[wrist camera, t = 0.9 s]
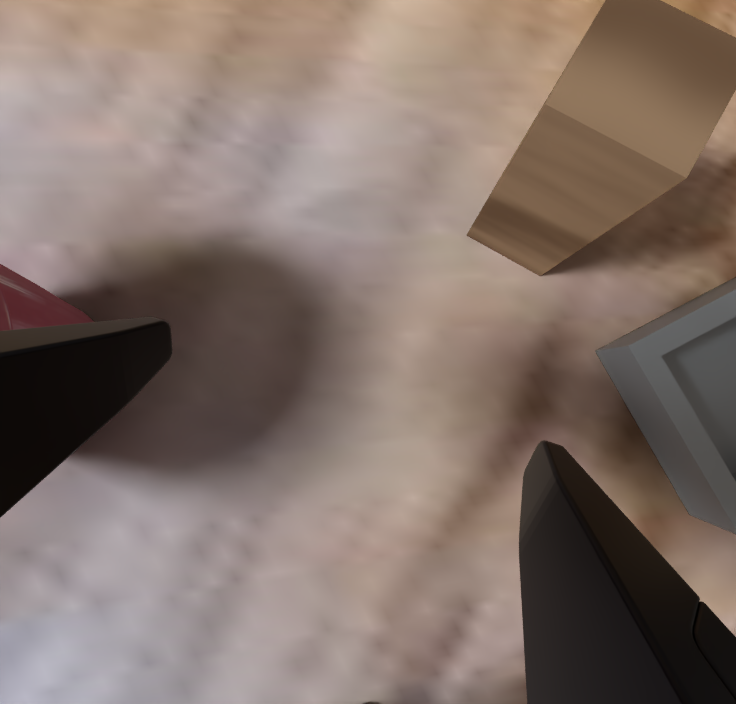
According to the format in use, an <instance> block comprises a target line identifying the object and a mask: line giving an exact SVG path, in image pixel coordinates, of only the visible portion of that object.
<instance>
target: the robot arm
mask: <svg viewBox="0 0 736 704" xmlns="http://www.w3.org/2000/svg"><path fill="white" fill-rule="evenodd" d="M171 354H172V341H171V328H170V325H169V323H168V322H167V321H165V320H162V319H158V318H155V317H142V318H132V319H121V320H110V321H100V322H89V323H79V324H68V325H58V326H47V327H37V328H26V329H16V330H5V331H0V517H2V516H3V515H4V514H5V513H6V512H7V511H8V510H9V509H11V508H12V507H13V506H14V505H15V504H16V503H17V502H18V501H20V500H21V499H22V498H23V497H24V496H25V495H26V494H27V493H29V492H30V491H31V490H32V489H33V488H34V487H35V486H36V485H38V484H39V483H40V482H41V481H42V480H43V479H44V478H45V477H46V476H48V475H49V474H50V473H51V472H52V471H53V470H54V469H55V468H57V467H58V466H59V465H60V464H61V463H62V462H63V461H64V460H66V459H67V458H68V457H69V456H70V455H71V454H72V453H73V452H75V451H76V450H77V449H78V448H79V447H80V446H81V445H82V444H84V443H85V442H86V441H87V440H88V439H89V438H90V437H91V436H93V435H94V434H95V433H96V432H97V431H98V430H99V429H100V428H102V427H103V426H104V425H105V424H106V423H107V422H108V421H109V420H111V419H112V418H113V417H114V416H115V415H116V414H117V413H118V412H120V411H121V410H122V409H123V408H124V407H125V406H126V405H127V404H128V403H129V402H130V401H131V400H132V399H133V398H134V397H135V396H136V395H137V394H138V393H139V392H140V391H141V390H142V388H143V387H144V386H145V385H146V384H147V383H148V382H149V381H150V380H151V379H152V378H153V377H154V376H155V374H156V373H157V372H158V371H159V370H160V369H161V368H162V367H163V366H164V365H165V364H166V363H167V361H168V360H169V359H170V357H171ZM519 563H520V581H521V599H522V617H523V635H524V653H525V671H526V689H527V704H736V637H735V636H734V635H733V634H732V633H731V631H730V630H729V629H728V628H727V627H726V626H725V625H724V624H723V623H722V622H721V621H720V619H719V618H718V617H717V616H716V615H715V614H714V613H713V612H712V611H711V609H710V608H709V607H708V606H707V605H706V604H705V603H704V602H699V601H700V598H699V596H698V595H697V594H696V593H695V592H694V591H693V590H692V589H691V587H690V586H689V585H688V584H687V583H686V582H685V581H684V580H683V579H682V578H681V576H680V575H679V574H678V573H677V572H676V571H675V570H674V569H673V568H672V566H671V565H670V564H669V563H668V562H667V561H666V560H665V559H664V558H663V557H662V555H661V554H660V553H659V552H658V551H657V550H656V549H655V548H654V547H653V545H652V544H651V543H650V542H649V541H648V540H647V539H646V538H645V537H644V536H643V534H642V533H641V532H640V531H639V530H638V529H637V528H636V527H635V526H634V524H633V523H632V522H631V521H630V520H629V519H628V518H627V517H626V516H625V515H624V513H623V512H622V511H621V510H620V509H619V508H618V507H617V506H616V505H615V504H614V502H613V501H612V500H611V499H610V498H609V497H608V496H607V495H606V494H605V492H604V491H603V490H602V489H601V488H600V487H599V486H598V485H597V484H596V483H595V481H594V480H593V479H592V478H591V477H590V476H589V475H588V474H587V473H586V471H585V470H584V469H583V468H582V467H581V466H580V465H579V464H578V463H577V462H576V460H575V459H574V458H573V457H572V456H571V455H570V454H569V453H568V452H567V450H566V449H565V448H564V447H563V446H561V445H558V444H555V443H552V442H548V441H545V440H543V441H541V442H540V443H539V444H538V445H537V447H536V449H535V451H534V453H533V455H532V457H531V459H530V461H529V463H528V465H527V467H526V469H525V472H524V476H523V487H522V502H521V516H520V531H519Z"/></svg>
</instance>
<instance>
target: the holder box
mask: <svg viewBox="0 0 736 704" xmlns="http://www.w3.org/2000/svg"><path fill="white" fill-rule="evenodd" d="M595 352H596V353H597V355H598V357H599V359H600V360H601V362H602V364H603V366H604V367H605V369H606V371H607V373H608V374H609V376H610V378H611V379H612V381H613V383H614V385H615V386H616V388H617V390H618V392H619V393H620V395H621V397H622V399H623V400H624V402H625V404H626V405H627V407H628V409H629V411H630V412H631V414H632V416H633V418H634V419H635V421H636V423H637V425H638V426H639V428H640V430H641V431H642V433H643V435H644V437H645V438H646V440H647V442H648V444H649V445H650V447H651V449H652V451H653V452H654V454H655V456H656V457H657V459H658V461H659V463H660V464H661V466H662V468H663V470H664V471H665V473H666V475H667V477H668V478H669V480H670V482H671V483H672V485H673V487H674V489H675V490H676V492H677V494H678V496H679V497H680V499H681V501H682V503H683V504H684V506H685V508H686V509H687V511H688V513H689V515H691V516H693V517H696V518H698V519H701V520H703V521H705V522H708V523H710V524H713V525H715V526H717V527H720V528H722V529H725V530H727V531H729V532H732V533H734V534H736V277H735V278H733V279H731V280H729V281H727V282H725V283H724V284H722V285H720V286H718V287H716V288H714V289H712V290H710V291H708V292H706V293H704V294H703V295H701V296H699V297H697V298H695V299H693V300H691V301H689V302H687V303H685V304H684V305H682V306H680V307H678V308H676V309H674V310H672V311H670V312H668V313H666V314H664V315H663V316H661V317H659V318H657V319H655V320H653V321H651V322H649V323H647V324H645V325H644V326H642V327H640V328H638V329H636V330H634V331H632V332H630V333H628V334H626V335H624V336H623V337H621V338H619V339H617V340H615V341H613V342H611V343H609V344H607V345H605V346H604V347H602V348H600V349H598V350H596V351H595Z"/></svg>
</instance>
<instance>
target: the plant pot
mask: <svg viewBox="0 0 736 704" xmlns="http://www.w3.org/2000/svg"><path fill="white" fill-rule="evenodd" d="M89 322H94V321H93V320H92V319H91V318H90V317H88V316H87V315H86V314H85V313H83V312H82V311H81V310H79V309H77V308H76V307H74V306H72V305H70V304H68V303H67V302H65V301H63V300H62V299H60V298H58V297H56V296H55V295H53V294H51V293H50V292H48V291H47V290H45V289H43V288H42V287H40V286H38V285H37V284H35V283H33V282H31V281H29V280H28V279H26V278H24V277H22V276H21V275H19V274H17V273H15V272H14V271H12V270H10V269H8V268H7V267H5V266H3V265H1V264H0V331H5V330H16V329H26V328H37V327H47V326H58V325H68V324H79V323H89Z"/></svg>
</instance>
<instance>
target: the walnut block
mask: <svg viewBox="0 0 736 704" xmlns="http://www.w3.org/2000/svg"><path fill="white" fill-rule="evenodd" d="M735 90H736V38H735V37H733V36H731V35H729V34H727V33H725V32H723V31H721V30H719V29H717V28H715V27H713V26H711V25H709V24H707V23H705V22H703V21H701V20H699V19H697V18H695V17H693V16H691V15H689V14H687V13H685V12H683V11H681V10H679V9H677V8H675V7H673V6H671V5H669V4H667V3H665V2H662V1H660V0H606V1H605V2H604V4H603V6H602V7H601V9H600V11H599V12H598V14H597V16H596V17H595V19H594V21H593V22H592V24H591V26H590V27H589V29H588V31H587V33H586V34H585V36H584V38H583V39H582V41H581V43H580V44H579V46H578V48H577V49H576V51H575V53H574V54H573V56H572V58H571V59H570V61H569V63H568V64H567V66H566V68H565V70H564V71H563V73H562V75H561V76H560V78H559V80H558V81H557V83H556V85H555V86H554V88H553V90H552V91H551V93H550V95H549V96H548V98H547V100H546V101H545V103H544V105H543V107H542V108H541V110H540V112H539V113H538V115H537V117H536V118H535V120H534V122H533V123H532V125H531V127H530V128H529V130H528V132H527V133H526V135H525V137H524V138H523V140H522V142H521V144H520V145H519V147H518V149H517V150H516V152H515V154H514V155H513V157H512V159H511V160H510V162H509V164H508V165H507V167H506V169H505V170H504V172H503V174H502V176H501V177H500V179H499V181H498V182H497V184H496V186H495V188H494V189H493V191H492V193H491V194H490V196H489V198H488V199H487V201H486V203H485V205H484V206H483V208H482V210H481V211H480V213H479V215H478V216H477V218H476V220H475V222H474V223H473V225H472V227H471V228H470V230H469V232H468V234H467V236H469V237H470V238H472V239H474V240H476V241H478V242H480V243H481V244H483V245H485V246H487V247H489V248H490V249H492V250H494V251H496V252H498V253H499V254H501V255H503V256H505V257H507V258H508V259H510V260H512V261H514V262H516V263H517V264H519V265H521V266H523V267H525V268H526V269H528V270H530V271H532V272H534V273H535V274H537V275H539V276H541V275H543V274H544V273H546V272H547V271H549V270H550V269H552V268H553V267H555V266H556V265H558V264H559V263H561V262H562V261H564V260H565V259H567V258H568V257H570V256H571V255H573V254H574V253H576V252H577V251H579V250H580V249H582V248H583V247H585V246H586V245H588V244H589V243H591V242H592V241H594V240H595V239H597V238H598V237H600V236H601V235H603V234H604V233H606V232H607V231H609V230H610V229H612V228H613V227H615V226H616V225H618V224H619V223H621V222H622V221H624V220H625V219H627V218H628V217H630V216H631V215H632V214H634V213H635V212H637V211H638V210H640V209H641V208H643V207H644V206H646V205H647V204H649V203H650V202H652V201H653V200H655V199H656V198H658V197H659V196H661V195H662V194H664V193H665V192H667V191H668V190H670V189H671V188H673V187H674V186H676V185H677V184H679V183H680V182H682V181H683V180H685V179H686V178H687V177H688V175H689V173H690V172H691V170H692V168H693V166H694V164H695V163H696V161H697V159H698V157H699V155H700V154H701V152H702V150H703V148H704V146H705V144H706V143H707V141H708V139H709V137H710V135H711V134H712V132H713V130H714V128H715V126H716V125H717V123H718V121H719V119H720V117H721V115H722V114H723V112H724V110H725V108H726V106H727V105H728V103H729V101H730V99H731V97H732V96H733V94H734V92H735Z"/></svg>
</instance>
